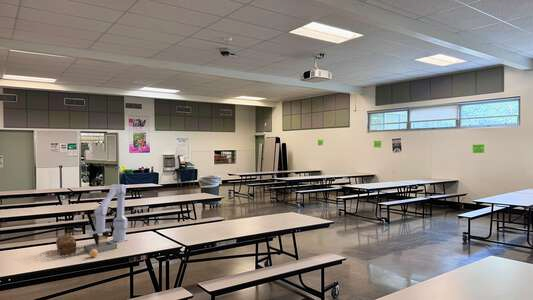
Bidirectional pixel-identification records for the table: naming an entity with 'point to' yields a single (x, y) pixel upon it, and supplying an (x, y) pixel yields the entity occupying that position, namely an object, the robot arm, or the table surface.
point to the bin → (101, 249)
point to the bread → (66, 245)
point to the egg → (93, 253)
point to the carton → (101, 241)
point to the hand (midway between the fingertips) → (100, 243)
